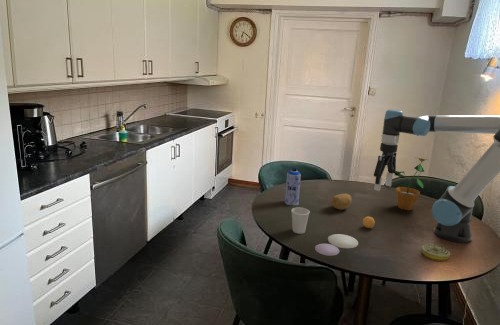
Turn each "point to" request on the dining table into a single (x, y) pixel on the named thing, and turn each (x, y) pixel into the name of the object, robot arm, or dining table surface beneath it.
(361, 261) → the dining table surface
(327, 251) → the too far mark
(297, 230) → the dixie cup
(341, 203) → the potato
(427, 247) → the decorated donut
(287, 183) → the aerosol can
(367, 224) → the ball
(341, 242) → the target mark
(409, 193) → the potted plant
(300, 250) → the dining table surface
